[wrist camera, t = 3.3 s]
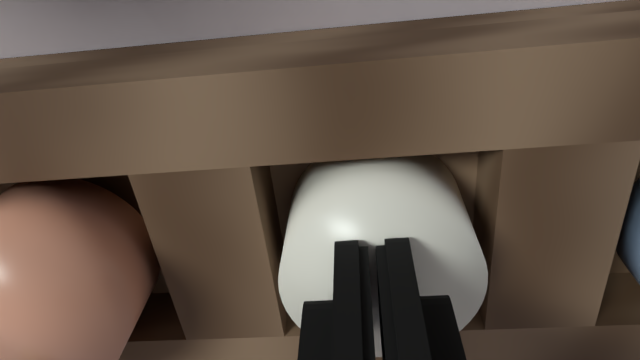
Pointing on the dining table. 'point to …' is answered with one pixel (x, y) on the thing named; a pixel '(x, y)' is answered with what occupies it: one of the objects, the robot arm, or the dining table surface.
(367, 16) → the dining table surface
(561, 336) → the wooden compartment tray
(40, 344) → the pink rounded dome
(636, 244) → the blue rounded knob
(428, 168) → the cream button
